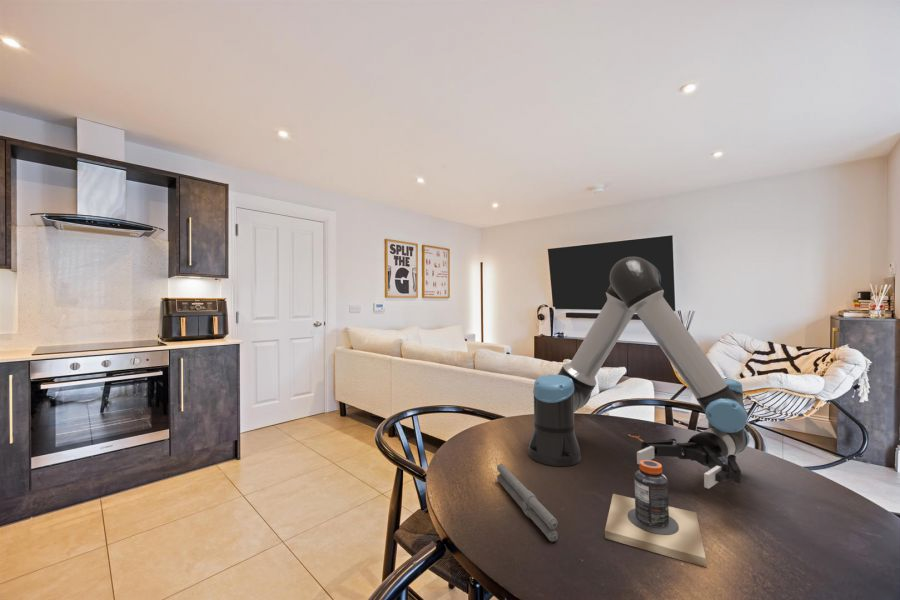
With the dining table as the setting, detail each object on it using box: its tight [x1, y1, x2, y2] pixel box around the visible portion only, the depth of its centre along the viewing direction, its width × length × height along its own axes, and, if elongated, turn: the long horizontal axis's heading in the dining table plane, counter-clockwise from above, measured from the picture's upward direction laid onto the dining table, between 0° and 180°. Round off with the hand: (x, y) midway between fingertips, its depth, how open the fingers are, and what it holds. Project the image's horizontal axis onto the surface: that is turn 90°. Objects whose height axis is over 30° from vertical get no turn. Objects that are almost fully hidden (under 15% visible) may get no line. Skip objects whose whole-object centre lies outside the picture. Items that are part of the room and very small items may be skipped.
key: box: [627, 433, 644, 442], centre depth 120 cm, size 6×1×15 cm
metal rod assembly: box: [496, 463, 559, 543], centre depth 81 cm, size 26×3×5 cm, turn 15°
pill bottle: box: [634, 460, 669, 527], centre depth 73 cm, size 6×6×11 cm
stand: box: [604, 493, 707, 568], centre depth 73 cm, size 16×16×2 cm
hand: (669, 468), depth 78 cm, fingers open, 13 cm apart
